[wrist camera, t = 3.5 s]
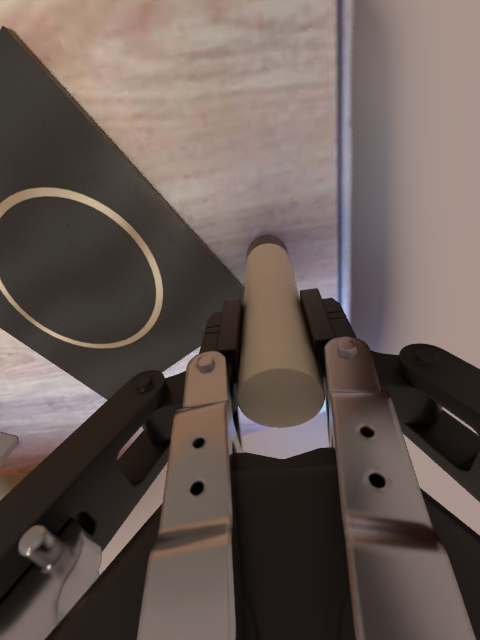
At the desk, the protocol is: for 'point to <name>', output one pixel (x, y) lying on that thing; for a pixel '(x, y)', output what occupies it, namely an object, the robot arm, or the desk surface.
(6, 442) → the lighter
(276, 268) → the cylinder
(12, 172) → the black flat square pad
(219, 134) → the desk surface
